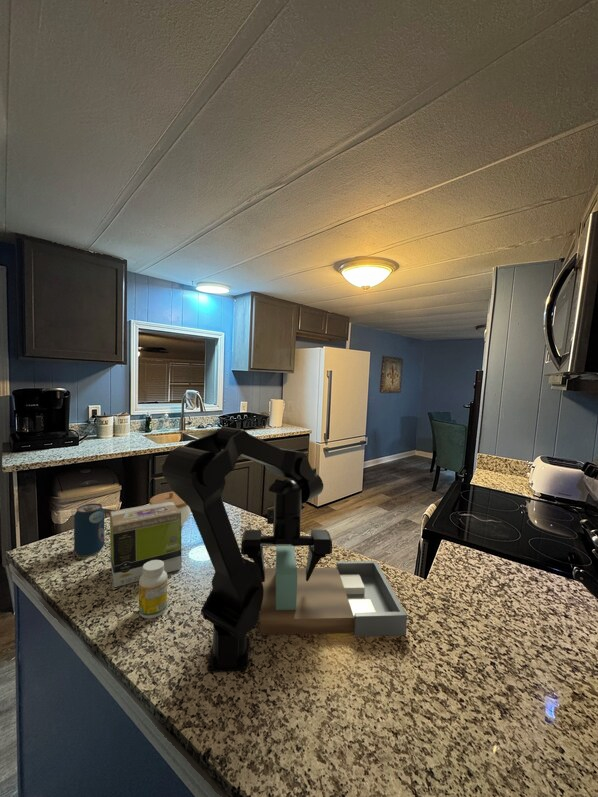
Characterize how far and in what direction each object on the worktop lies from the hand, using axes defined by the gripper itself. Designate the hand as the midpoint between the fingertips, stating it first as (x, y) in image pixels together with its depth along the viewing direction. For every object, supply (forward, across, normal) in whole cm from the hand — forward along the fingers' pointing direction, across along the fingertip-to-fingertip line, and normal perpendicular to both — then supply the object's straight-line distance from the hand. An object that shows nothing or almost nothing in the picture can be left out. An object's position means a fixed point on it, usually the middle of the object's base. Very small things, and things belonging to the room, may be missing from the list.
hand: (285, 580), depth 71 cm
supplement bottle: (+6, +27, +1) cm, 28 cm away
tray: (+5, -18, 0) cm, 19 cm away
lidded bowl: (+6, +35, -38) cm, 52 cm away
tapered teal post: (+2, 0, 0) cm, 2 cm away
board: (+5, -4, 0) cm, 7 cm away
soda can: (+6, +52, -23) cm, 57 cm away
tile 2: (+5, -16, +4) cm, 17 cm away
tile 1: (+5, -16, -4) cm, 17 cm away
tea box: (+6, +34, -14) cm, 37 cm away
